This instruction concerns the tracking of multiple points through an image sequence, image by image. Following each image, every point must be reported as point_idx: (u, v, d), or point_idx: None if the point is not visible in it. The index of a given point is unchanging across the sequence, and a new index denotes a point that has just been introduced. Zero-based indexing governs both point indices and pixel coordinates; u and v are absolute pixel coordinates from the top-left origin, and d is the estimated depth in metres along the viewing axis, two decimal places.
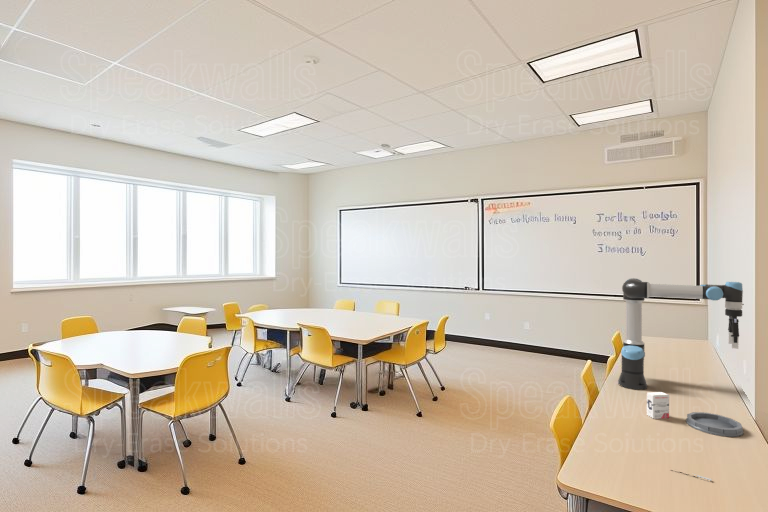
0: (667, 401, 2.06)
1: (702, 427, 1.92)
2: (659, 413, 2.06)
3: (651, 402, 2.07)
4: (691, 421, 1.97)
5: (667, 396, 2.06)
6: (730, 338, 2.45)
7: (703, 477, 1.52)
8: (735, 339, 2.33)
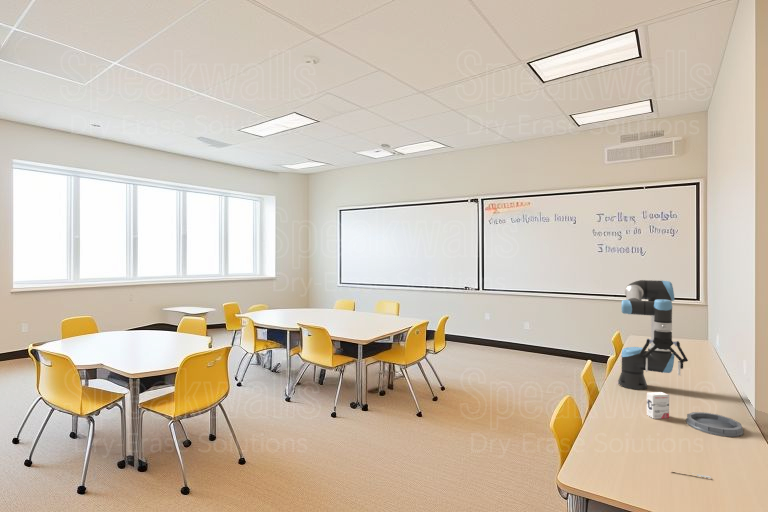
0: (667, 401, 2.06)
1: (702, 427, 1.92)
2: (659, 413, 2.06)
3: (651, 402, 2.07)
4: (691, 421, 1.97)
5: (667, 396, 2.06)
6: (678, 368, 2.07)
7: (703, 475, 1.53)
8: (643, 360, 2.14)
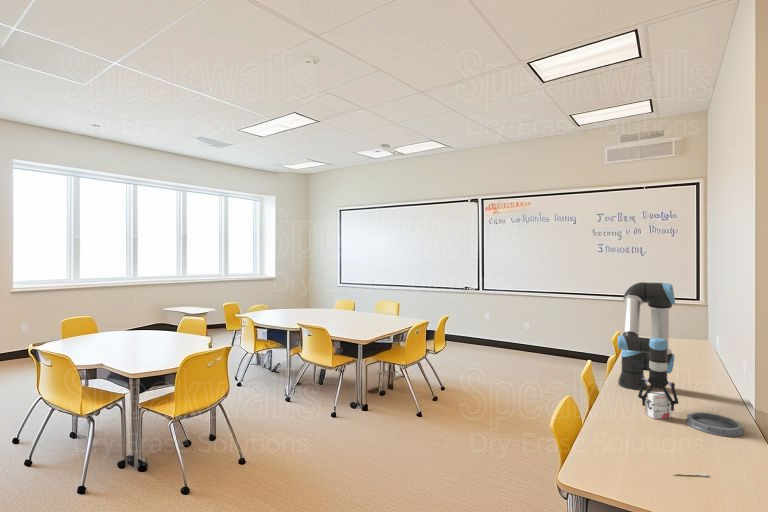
0: (667, 400, 2.06)
1: (702, 427, 1.92)
2: (659, 413, 2.06)
3: (651, 402, 2.07)
4: (691, 421, 1.97)
5: None
6: (669, 410, 2.06)
7: (701, 474, 1.54)
8: (642, 401, 2.12)
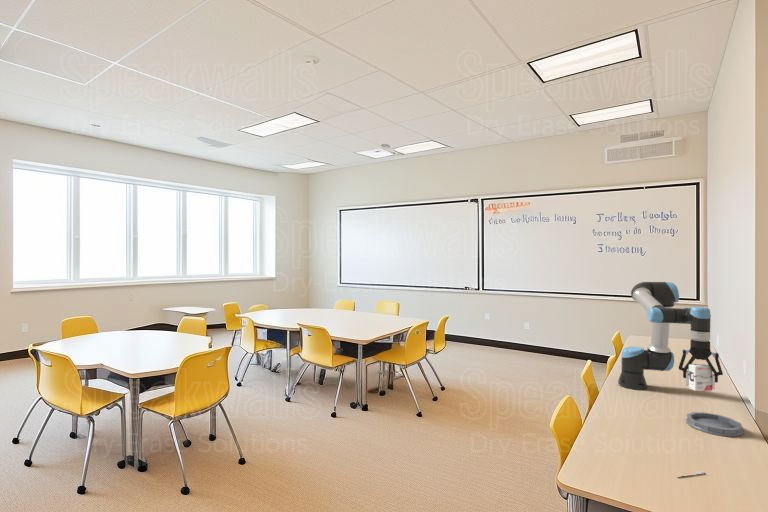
0: (710, 372, 1.97)
1: (702, 427, 1.92)
2: (702, 385, 1.96)
3: (693, 373, 1.97)
4: (691, 421, 1.97)
5: None
6: (712, 381, 1.97)
7: (698, 472, 1.55)
8: (683, 373, 2.03)
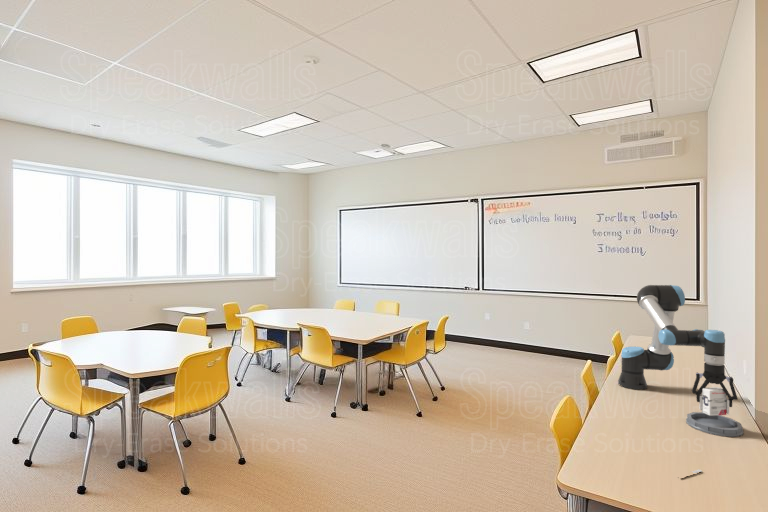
0: (724, 396, 1.94)
1: (702, 427, 1.92)
2: (716, 409, 1.94)
3: (707, 398, 1.95)
4: (691, 421, 1.97)
5: None
6: (726, 406, 1.94)
7: (696, 471, 1.56)
8: None
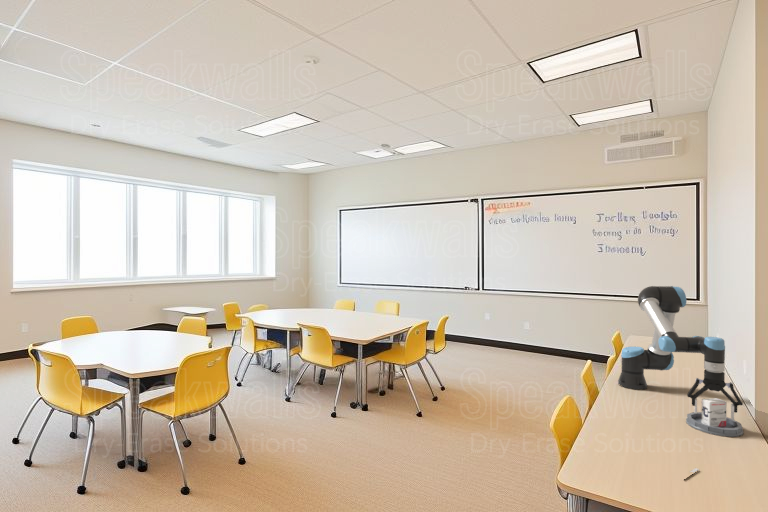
0: (724, 408, 1.94)
1: (702, 427, 1.92)
2: (716, 421, 1.94)
3: (707, 409, 1.95)
4: (691, 421, 1.97)
5: (724, 403, 1.94)
6: (731, 411, 1.93)
7: (694, 470, 1.57)
8: (692, 401, 2.01)
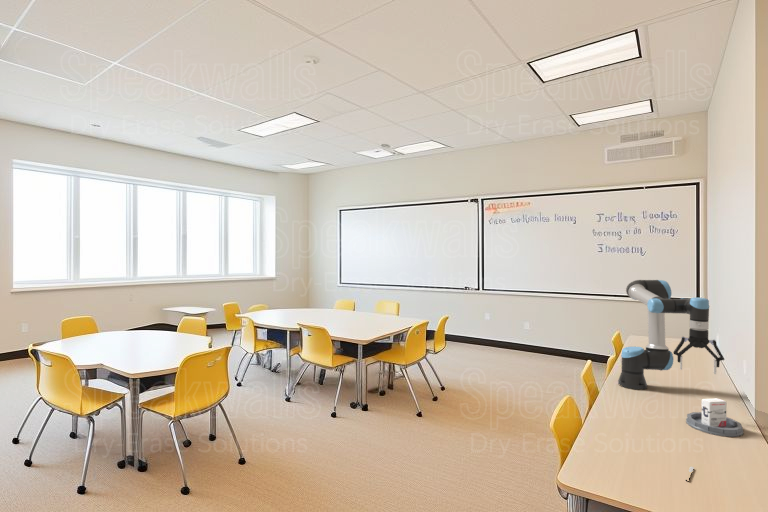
0: (724, 408, 1.94)
1: (702, 427, 1.92)
2: (716, 421, 1.94)
3: (707, 409, 1.95)
4: (691, 421, 1.97)
5: (724, 403, 1.94)
6: (714, 366, 2.06)
7: (691, 469, 1.58)
8: None
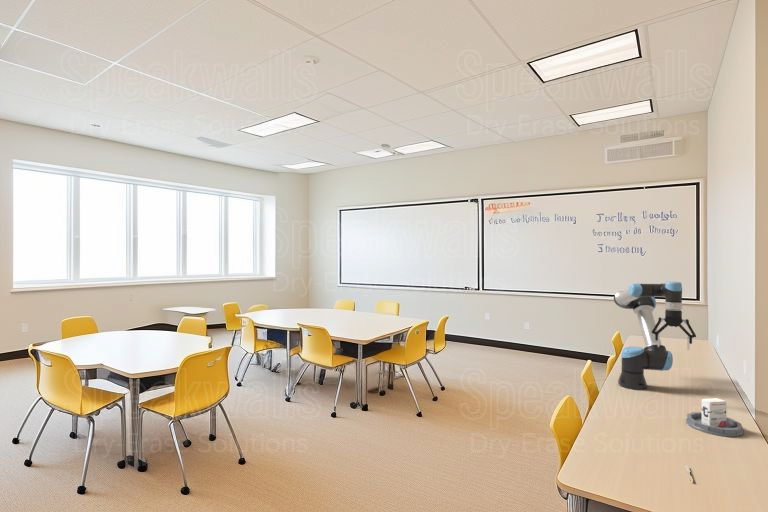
0: (724, 408, 1.94)
1: (702, 427, 1.92)
2: (716, 421, 1.94)
3: (707, 409, 1.95)
4: (691, 421, 1.97)
5: (724, 403, 1.94)
6: (687, 343, 2.29)
7: (687, 468, 1.58)
8: (655, 336, 2.36)
